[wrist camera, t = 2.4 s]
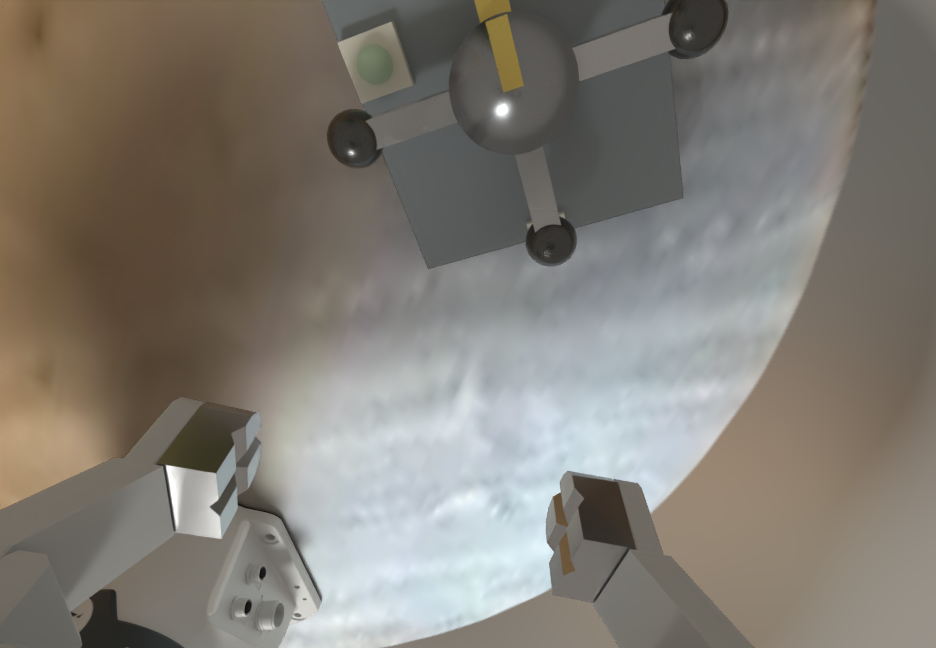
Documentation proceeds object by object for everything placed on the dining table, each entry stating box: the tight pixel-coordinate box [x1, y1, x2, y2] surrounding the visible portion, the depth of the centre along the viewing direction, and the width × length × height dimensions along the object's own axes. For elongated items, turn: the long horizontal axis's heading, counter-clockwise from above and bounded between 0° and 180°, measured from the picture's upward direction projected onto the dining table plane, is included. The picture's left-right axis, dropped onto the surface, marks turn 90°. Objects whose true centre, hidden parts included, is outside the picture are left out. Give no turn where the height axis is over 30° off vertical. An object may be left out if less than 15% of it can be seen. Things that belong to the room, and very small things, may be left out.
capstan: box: [327, 0, 728, 266], centre depth 20 cm, size 16×16×4 cm
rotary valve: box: [322, 0, 683, 269], centre depth 23 cm, size 16×14×5 cm
